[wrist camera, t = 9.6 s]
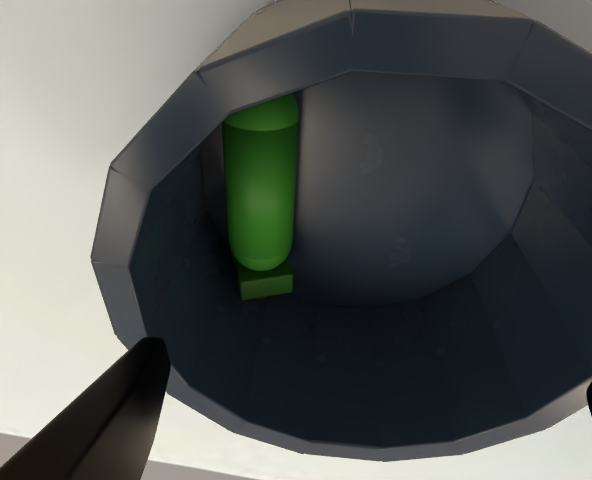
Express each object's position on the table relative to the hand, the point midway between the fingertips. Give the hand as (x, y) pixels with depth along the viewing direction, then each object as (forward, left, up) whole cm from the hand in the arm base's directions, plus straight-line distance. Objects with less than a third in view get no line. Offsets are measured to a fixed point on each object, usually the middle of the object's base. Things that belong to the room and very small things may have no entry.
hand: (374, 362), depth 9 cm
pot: (0, 0, -8) cm, 8 cm away
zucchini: (+3, 0, -5) cm, 6 cm away
